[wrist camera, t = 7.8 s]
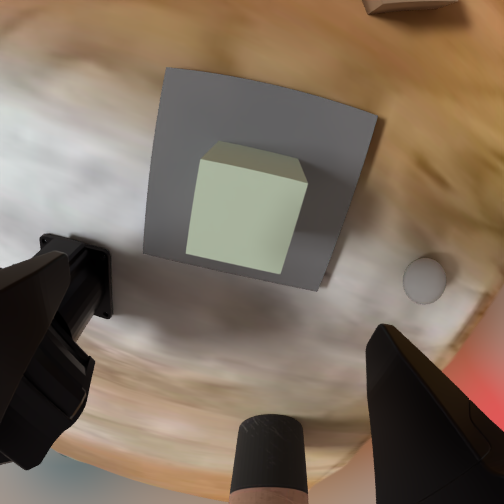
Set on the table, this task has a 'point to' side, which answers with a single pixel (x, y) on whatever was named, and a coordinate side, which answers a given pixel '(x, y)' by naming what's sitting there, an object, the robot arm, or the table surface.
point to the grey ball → (424, 281)
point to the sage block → (245, 206)
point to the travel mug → (269, 462)
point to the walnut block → (403, 5)
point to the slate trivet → (260, 137)
